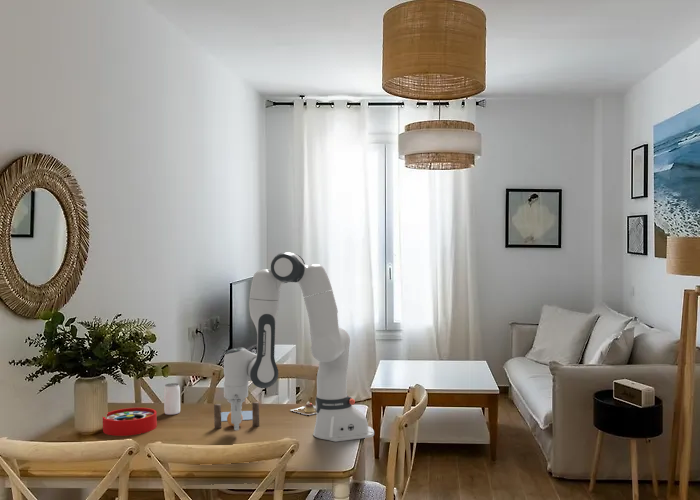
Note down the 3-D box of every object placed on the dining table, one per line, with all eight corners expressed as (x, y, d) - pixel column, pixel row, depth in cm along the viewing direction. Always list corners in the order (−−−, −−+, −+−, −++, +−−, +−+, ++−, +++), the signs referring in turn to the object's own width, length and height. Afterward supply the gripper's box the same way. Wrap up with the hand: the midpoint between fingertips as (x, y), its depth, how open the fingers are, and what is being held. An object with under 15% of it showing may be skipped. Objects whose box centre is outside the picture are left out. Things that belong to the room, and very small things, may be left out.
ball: (242, 415, 271) (242, 407, 266) (242, 429, 267) (242, 421, 262) (227, 415, 270) (227, 407, 266) (226, 429, 266) (226, 421, 261)
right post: (259, 424, 268) (258, 401, 268) (259, 426, 265) (259, 403, 265) (252, 424, 267) (252, 402, 267) (252, 426, 265) (252, 403, 265)
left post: (221, 426, 265) (221, 403, 265) (221, 428, 263) (220, 405, 263) (214, 427, 265) (214, 404, 265) (214, 428, 262) (213, 405, 262)
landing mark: (254, 410, 289) (254, 410, 289) (254, 419, 275) (254, 419, 275) (220, 412, 287) (220, 412, 287) (219, 421, 273) (219, 421, 273)
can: (176, 415, 284) (175, 386, 283) (161, 414, 285) (161, 386, 285) (182, 411, 290) (182, 383, 290) (168, 410, 291) (168, 382, 291)
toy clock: (161, 416, 261) (106, 423, 252) (162, 431, 261) (107, 439, 252) (150, 405, 279) (98, 411, 269) (150, 419, 279) (99, 426, 269)
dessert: (329, 412, 288) (329, 400, 288) (308, 417, 279) (308, 406, 279) (310, 407, 296) (310, 396, 296) (289, 412, 288) (289, 401, 288)
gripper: (244, 398, 242) (245, 436, 242) (244, 385, 262) (245, 421, 263) (226, 399, 241) (227, 437, 241) (227, 386, 261) (228, 422, 262)
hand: (236, 429), depth 252 cm, fingers closed
